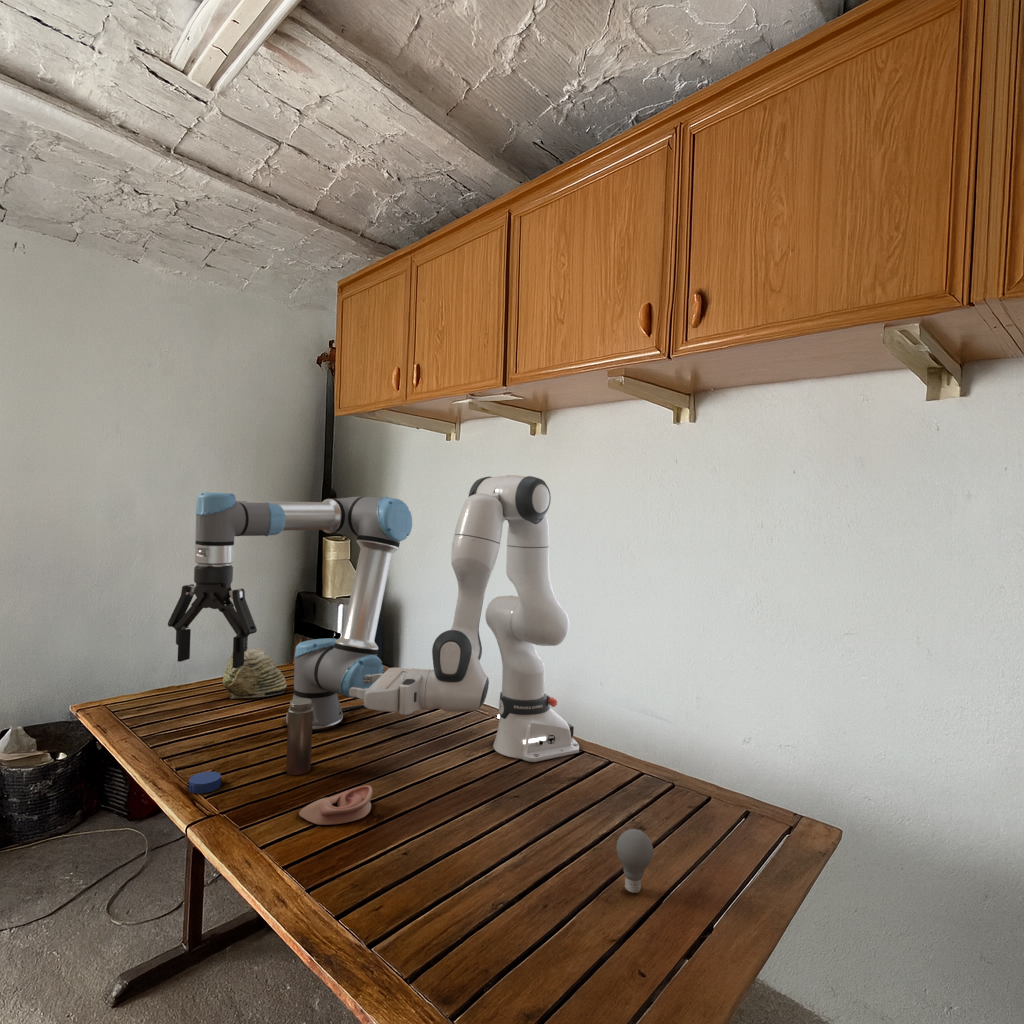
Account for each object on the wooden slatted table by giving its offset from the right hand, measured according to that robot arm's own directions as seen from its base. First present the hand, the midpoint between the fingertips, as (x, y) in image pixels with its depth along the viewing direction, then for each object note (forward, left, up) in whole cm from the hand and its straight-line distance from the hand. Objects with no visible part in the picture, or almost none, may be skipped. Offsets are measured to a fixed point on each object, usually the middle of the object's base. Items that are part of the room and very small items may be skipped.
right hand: (357, 684), depth 145 cm
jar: (+12, -5, -21) cm, 24 cm away
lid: (+31, -1, -19) cm, 36 cm away
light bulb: (-40, +56, -21) cm, 72 cm away
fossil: (+24, -65, -21) cm, 72 cm away
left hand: (+31, -2, +6) cm, 31 cm away
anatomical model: (+5, +17, -21) cm, 27 cm away
